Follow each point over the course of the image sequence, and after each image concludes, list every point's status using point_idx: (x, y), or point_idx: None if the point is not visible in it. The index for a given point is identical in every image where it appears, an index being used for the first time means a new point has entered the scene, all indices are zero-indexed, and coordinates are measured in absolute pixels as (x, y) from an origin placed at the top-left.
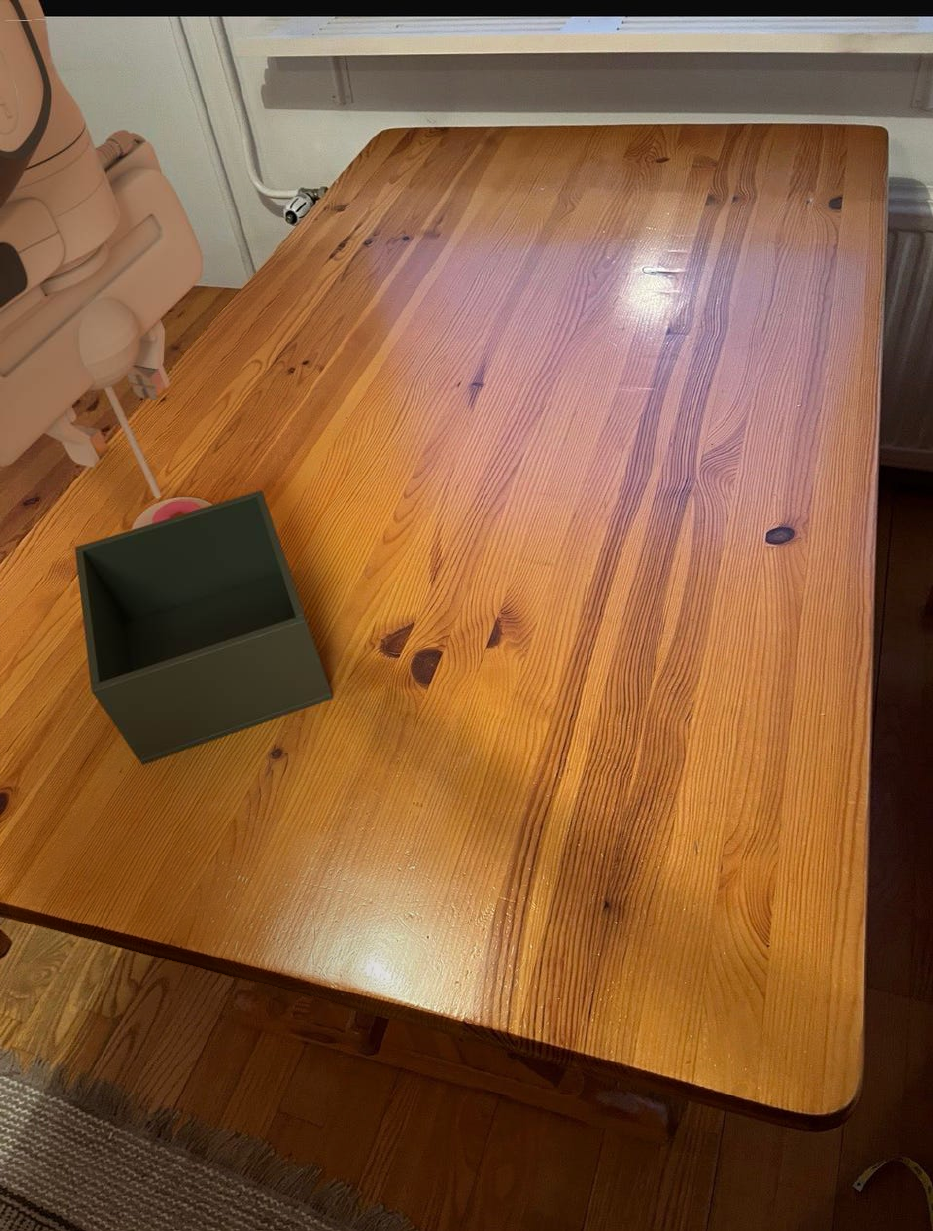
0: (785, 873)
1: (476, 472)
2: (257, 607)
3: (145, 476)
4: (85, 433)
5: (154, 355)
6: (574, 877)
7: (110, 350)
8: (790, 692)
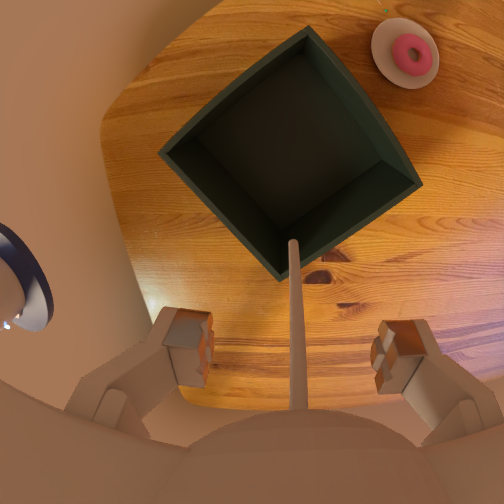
0: (249, 399)
1: (472, 257)
2: (344, 153)
3: (289, 263)
4: (182, 374)
5: (419, 408)
6: (221, 355)
7: None
8: (325, 397)
